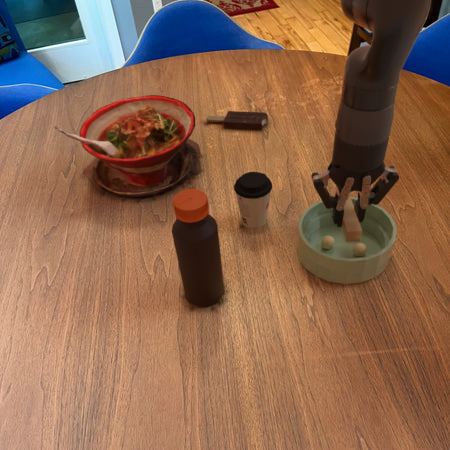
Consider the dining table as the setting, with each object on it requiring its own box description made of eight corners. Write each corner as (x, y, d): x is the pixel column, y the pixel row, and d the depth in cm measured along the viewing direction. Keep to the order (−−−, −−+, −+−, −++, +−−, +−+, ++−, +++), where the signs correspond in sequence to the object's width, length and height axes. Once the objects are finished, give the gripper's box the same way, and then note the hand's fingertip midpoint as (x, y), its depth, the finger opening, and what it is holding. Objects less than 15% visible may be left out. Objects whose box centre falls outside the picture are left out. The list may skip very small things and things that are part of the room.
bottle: (211, 313, 79) (198, 220, 63) (177, 300, 81) (156, 207, 66) (231, 286, 82) (223, 191, 67) (198, 273, 85) (182, 179, 70)
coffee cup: (239, 237, 90) (236, 194, 82) (233, 214, 95) (230, 171, 87) (275, 231, 90) (276, 188, 83) (268, 208, 95) (267, 165, 87)
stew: (79, 221, 96) (51, 151, 84) (78, 156, 112) (54, 89, 100) (215, 195, 99) (207, 124, 86) (195, 135, 114) (186, 67, 102)
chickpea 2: (364, 249, 85) (366, 239, 83) (367, 258, 84) (369, 248, 82) (350, 250, 85) (352, 240, 83) (353, 260, 84) (355, 250, 82)
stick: (348, 206, 84) (350, 195, 82) (360, 241, 78) (362, 230, 76) (334, 207, 84) (335, 196, 82) (345, 242, 78) (347, 231, 76)
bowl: (376, 218, 91) (382, 192, 86) (400, 281, 80) (408, 256, 76) (291, 226, 91) (292, 200, 87) (304, 289, 81) (306, 264, 76)
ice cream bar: (204, 127, 116) (265, 130, 113) (203, 121, 115) (265, 124, 112) (209, 115, 119) (268, 118, 117) (208, 109, 118) (268, 112, 115)
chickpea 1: (332, 242, 87) (334, 232, 85) (335, 251, 85) (336, 241, 83) (319, 243, 87) (320, 233, 85) (321, 252, 85) (323, 242, 83)
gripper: (317, 148, 65) (309, 241, 78) (420, 139, 65) (394, 234, 78) (308, 119, 70) (302, 212, 83) (404, 111, 70) (382, 205, 83)
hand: (347, 222), depth 80 cm, fingers closed on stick, 2 cm apart
